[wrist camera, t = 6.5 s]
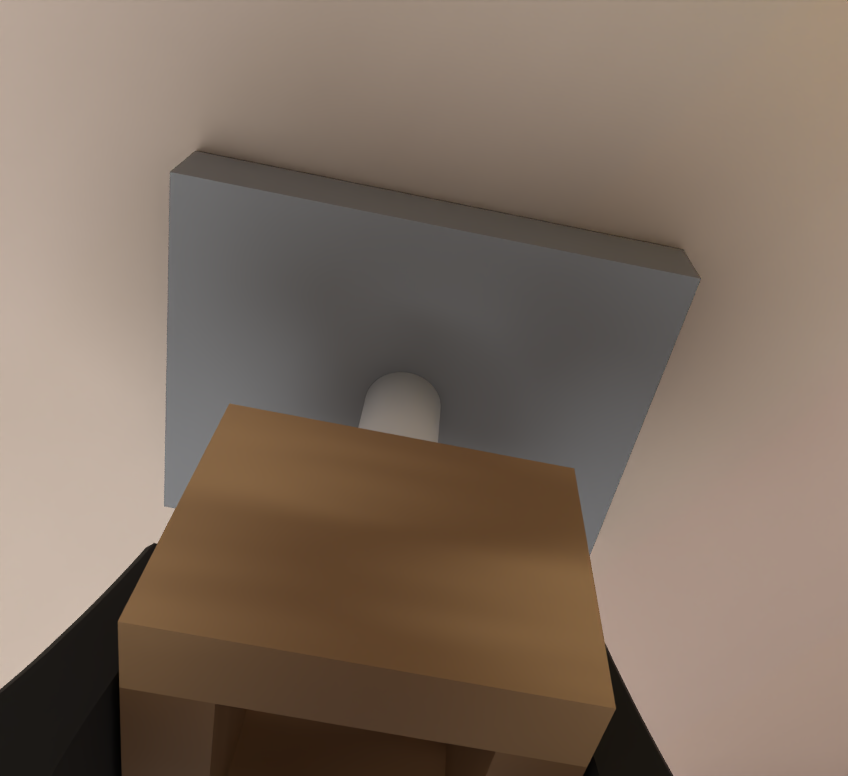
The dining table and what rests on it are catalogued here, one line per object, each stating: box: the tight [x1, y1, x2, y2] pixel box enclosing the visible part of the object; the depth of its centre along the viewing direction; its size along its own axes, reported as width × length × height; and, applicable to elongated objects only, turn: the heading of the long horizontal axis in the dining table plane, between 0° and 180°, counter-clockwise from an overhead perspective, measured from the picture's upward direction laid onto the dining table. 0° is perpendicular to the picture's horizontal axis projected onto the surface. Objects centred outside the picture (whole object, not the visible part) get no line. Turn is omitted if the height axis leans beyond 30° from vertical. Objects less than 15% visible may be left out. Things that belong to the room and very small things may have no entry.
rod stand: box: [164, 151, 701, 556], centre depth 15 cm, size 10×8×6 cm
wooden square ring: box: [118, 403, 616, 776], centre depth 11 cm, size 5×5×4 cm
